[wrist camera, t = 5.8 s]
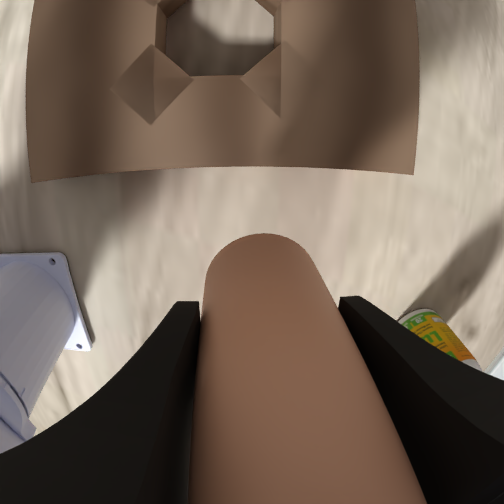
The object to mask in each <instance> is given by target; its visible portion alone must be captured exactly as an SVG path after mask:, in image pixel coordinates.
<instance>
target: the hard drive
mask: <svg viewBox="0 0 504 504" xmlns="http://www.w3.org/2000/svg"><path fill="white" fill-rule="evenodd" d="M484 373H487V374H489V375H492V376H494V377H496V378H499V379H501V380H504V347H503V348H502V350H501V351H500V352H499V353H498V355H497V356H496V357H495V359H494V360H493V361H492V362H491V364H490V365H489V366H488V367H487V368H486V370H485V371H484Z"/></svg>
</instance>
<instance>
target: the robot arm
mask: <svg viewBox="0 0 504 504" xmlns="http://www.w3.org/2000/svg"><path fill="white" fill-rule="evenodd" d="M52 258H53V259H54V260H55V263H54V262H53V261H52ZM338 310H339V312H340V314H341V316H342V317H343V319H344V321H345V323H346V325H347V327H348V329H349V331H350V333H351V335H352V337H353V339H354V341H355V343H356V345H357V347H358V349H359V351H360V353H361V355H362V357H363V359H364V362H365V364H366V366H367V368H368V370H369V372H370V374H371V376H372V378H373V380H374V382H375V384H376V387H377V389H378V391H379V393H380V395H381V397H382V399H383V402H384V404H385V406H386V408H387V410H388V412H389V415H390V417H391V419H392V421H393V424H394V426H395V428H396V430H397V433H398V435H399V437H400V439H401V442H402V444H403V446H404V449H405V451H406V453H407V456H408V458H409V460H410V463H411V465H412V468H413V470H414V472H415V475H416V477H417V480H418V482H419V485H420V487H421V490H422V492H423V495H424V497H425V500H426V502H427V504H504V380H501V379H499V378H496V377H494V376H492V375H489V374H487V373H484V372H482V371H480V370H477V369H475V368H473V367H471V366H469V365H467V364H465V363H463V362H461V361H459V360H458V359H456V358H454V357H452V356H450V355H448V354H446V353H445V352H443V351H441V350H440V349H438V348H437V347H435V346H433V345H432V344H430V343H428V342H427V341H425V340H424V339H422V338H421V337H419V336H418V335H416V334H415V333H413V332H412V331H410V330H409V329H407V328H406V327H404V326H403V325H402V324H400V323H399V322H397V321H396V320H394V319H393V318H392V317H390V316H389V315H387V314H386V313H385V312H383V311H382V310H380V309H379V308H377V307H376V306H375V305H373V304H372V303H370V302H369V301H367V300H366V299H364V298H362V297H360V296H348V297H340V301H339V307H338ZM200 324H201V321H200V310H199V301H177V302H176V303H175V304H174V305H173V306H172V308H171V309H170V311H169V312H168V313H167V315H166V316H165V317H164V319H163V320H162V321H161V323H160V324H159V325H158V327H157V328H156V329H155V330H154V332H153V333H152V334H151V335H150V337H149V338H148V339H147V340H146V341H145V343H144V344H143V345H142V346H141V347H140V349H139V350H138V351H137V352H136V353H135V354H134V355H133V356H132V357H131V359H130V360H129V361H128V362H127V363H126V364H125V365H124V366H123V367H122V368H121V369H120V370H119V371H118V372H117V373H116V374H115V375H114V376H113V377H112V378H111V379H110V380H109V381H108V382H107V383H106V384H105V385H104V386H103V387H102V388H101V389H100V390H98V391H97V392H96V393H95V394H94V395H93V396H92V397H90V398H89V399H88V400H87V401H85V402H84V403H83V404H82V405H80V406H79V407H78V408H76V409H75V410H74V411H72V412H71V413H70V414H68V415H67V416H66V417H64V418H63V419H61V420H60V421H59V422H57V423H55V424H54V425H52V426H51V427H49V428H48V429H46V430H45V431H43V432H41V433H40V434H38V435H36V436H34V433H35V431H36V427H35V426H34V425H33V424H32V423H31V421H30V420H29V417H30V414H31V412H32V410H33V408H34V406H35V404H36V401H37V399H38V397H39V395H40V393H41V391H42V389H43V387H44V385H45V383H46V381H47V379H48V377H49V375H50V373H51V371H52V369H53V367H54V366H55V364H56V362H57V360H58V358H59V356H60V354H61V353H62V351H63V349H70V350H79V351H90V350H91V348H92V343H91V340H90V337H89V334H88V331H87V328H86V325H85V322H84V319H83V316H82V313H81V310H80V307H79V303H78V300H77V297H76V293H75V290H74V286H73V282H72V279H71V275H70V271H69V267H68V263H67V259H66V257H65V255H64V254H62V253H60V252H51V253H13V254H0V504H188V485H189V463H190V445H191V429H192V414H193V401H194V388H195V376H196V365H197V354H198V344H199V334H200ZM80 344H81V345H80ZM33 436H34V437H33Z"/></svg>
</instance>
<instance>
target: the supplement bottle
mask: <svg viewBox="0 0 504 504" xmlns="http://www.w3.org/2000/svg"><path fill="white" fill-rule="evenodd" d="M398 322H399V323H400V324H402V325H403V326H404V327H406V328H407V329H409V330H410V331H412V332H413V333H415V334H416V335H418V336H419V337H421V338H422V339H424V340H425V341H427V342H428V343H430V344H432V345H433V346H435V347H437V348H438V349H440V350H441V351H443V352H445V353H446V354H448V355H450V356H452V357H454V358H456V359H458V360H459V361H461V362H463V363H465V364H467V365H469V366H471V367H473V368H475V369H477V370H480V371H482V369H481V367H480V365H479V364H478V362H477V361H476V359H475V358H474V357H473V355H472V354H471V353H470V352H469V350H468V349H467V348H466V347H465V345H464V344H463V343H462V342H461V341H460V339H459V338H458V337H457V336H456V335H455V333H454V332H453V331H452V330H451V329H450V327H449V326H448V325H447V324H446V323H445V322H444V320H443V319H442V318H441V317H440V316H439V315H438V314H437V313H436V312H435V311H433V310H431V309H419V310H415V311H413V312H411V313H409V314H407V315H405V316H404V317H403V318H401V319H400V320H399V321H398Z"/></svg>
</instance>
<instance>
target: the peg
mask: <svg viewBox="0 0 504 504" xmlns="http://www.w3.org/2000/svg"><path fill="white" fill-rule="evenodd" d="M188 504H427V502H426V500H425V497H424V495H423V492H422V490H421V487H420V485H419V482H418V480H417V477H416V475H415V472H414V470H413V468H412V465H411V463H410V460H409V458H408V456H407V453H406V451H405V449H404V446H403V444H402V442H401V439H400V437H399V435H398V433H397V430H396V428H395V426H394V424H393V421H392V419H391V417H390V415H389V412H388V410H387V408H386V406H385V404H384V402H383V399H382V397H381V395H380V393H379V391H378V389H377V387H376V384H375V382H374V380H373V378H372V376H371V374H370V372H369V370H368V368H367V366H366V364H365V362H364V359H363V357H362V355H361V353H360V351H359V349H358V347H357V345H356V343H355V341H354V339H353V337H352V335H351V333H350V331H349V329H348V327H347V325H346V323H345V321H344V319H343V317H342V316H341V314H340V312H339V310H338V308H337V306H336V304H335V302H334V300H333V298H332V296H331V294H330V292H329V291H328V289H327V287H326V285H325V283H324V281H323V279H322V277H321V275H320V274H319V272H318V270H317V268H316V266H315V264H314V262H313V261H312V259H311V257H310V256H309V254H308V253H307V252H306V251H305V249H304V248H302V247H301V246H300V245H299V244H297V243H296V242H294V241H293V240H291V239H289V238H286V237H283V236H280V235H275V234H265V233H263V234H253V235H248V236H245V237H242V238H239V239H237V240H235V241H233V242H231V243H230V244H228V245H227V246H225V247H224V248H223V249H222V250H221V251H220V252H219V253H218V254H217V255H216V256H215V257H214V259H213V260H212V262H211V264H210V266H209V268H208V271H207V274H206V280H205V288H204V296H203V305H202V314H201V324H200V334H199V344H198V354H197V365H196V376H195V388H194V401H193V414H192V429H191V445H190V463H189V485H188Z"/></svg>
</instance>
